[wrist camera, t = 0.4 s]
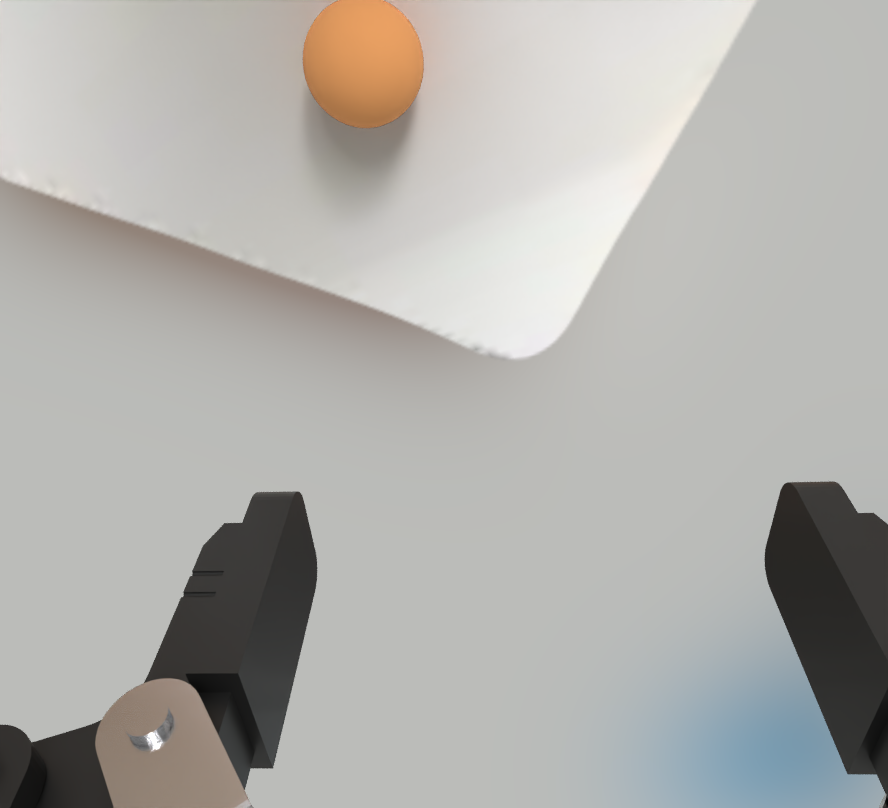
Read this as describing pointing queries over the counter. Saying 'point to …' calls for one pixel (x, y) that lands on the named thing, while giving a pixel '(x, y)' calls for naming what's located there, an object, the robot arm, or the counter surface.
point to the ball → (363, 62)
